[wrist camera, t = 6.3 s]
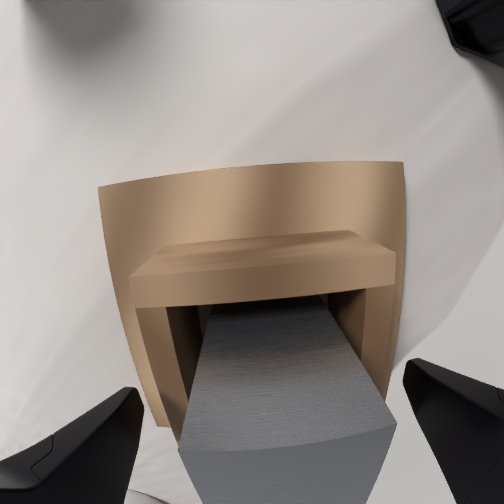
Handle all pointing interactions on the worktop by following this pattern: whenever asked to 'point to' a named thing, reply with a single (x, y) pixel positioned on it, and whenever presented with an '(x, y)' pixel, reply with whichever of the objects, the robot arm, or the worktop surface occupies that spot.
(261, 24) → the worktop surface
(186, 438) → the grey rectangular prism
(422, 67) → the worktop surface
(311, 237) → the wooden socket plate
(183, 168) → the worktop surface
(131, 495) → the supplement can
